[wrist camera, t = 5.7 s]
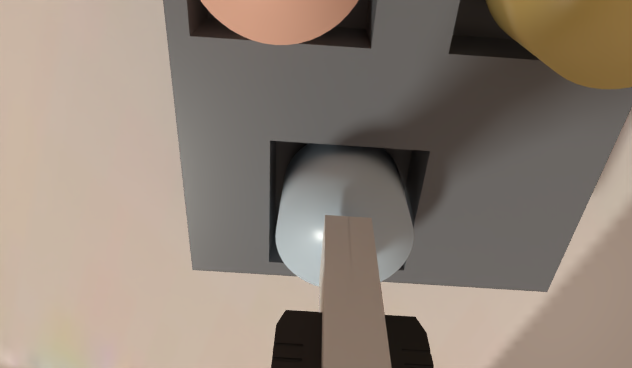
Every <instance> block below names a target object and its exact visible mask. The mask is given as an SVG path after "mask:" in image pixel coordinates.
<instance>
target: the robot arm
mask: <svg viewBox="0 0 632 368" xmlns="http://www.w3.org/2000/svg"><path fill="white" fill-rule="evenodd" d="M271 368H433V361H432V356H431V354H430V347H429V342H428V338H427V333H426V332H425V330H424V329H423V327H422V326H421V324H420V323H419V321H418V320H417V319H416V317H409V316H392V315H385V314H384V307H383V299H382V292H381V284H380V276H379V269H378V261H377V254H376V246H375V239H374V231H373V223H372V218H366V217H351V216H335V215H325V220H324V231H323V242H322V254H321V265H320V276H319V312H308V311H292V310H286V311H285V312H284V314H283V315H282V317H281V318H280V320H279V322H278V323H277V325H276V332H275V340H274V348H273V357H272V365H271Z"/></svg>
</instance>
